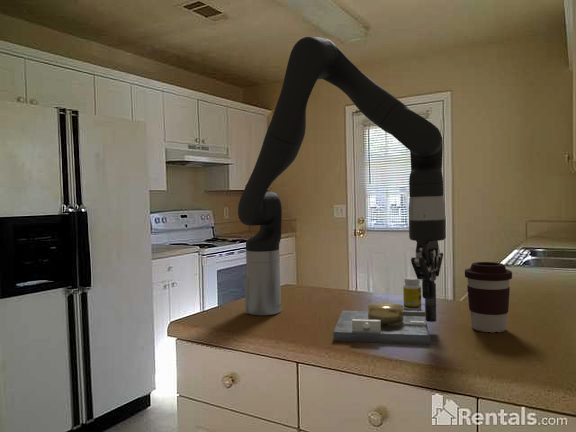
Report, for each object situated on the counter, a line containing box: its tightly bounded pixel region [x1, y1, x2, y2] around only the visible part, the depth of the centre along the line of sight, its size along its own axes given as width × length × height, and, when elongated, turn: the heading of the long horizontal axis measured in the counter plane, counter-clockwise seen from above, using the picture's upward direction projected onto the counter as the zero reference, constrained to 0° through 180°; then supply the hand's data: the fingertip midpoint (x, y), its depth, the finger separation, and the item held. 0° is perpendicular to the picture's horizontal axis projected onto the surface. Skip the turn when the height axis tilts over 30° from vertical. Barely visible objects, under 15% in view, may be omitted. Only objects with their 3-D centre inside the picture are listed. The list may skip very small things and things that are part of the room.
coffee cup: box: [464, 261, 513, 334], centre depth 105 cm, size 10×10×15 cm
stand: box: [333, 310, 431, 346], centre depth 106 cm, size 20×19×4 cm
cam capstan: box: [367, 283, 437, 324], centre depth 105 cm, size 15×8×8 cm, turn 78°
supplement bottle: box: [402, 276, 422, 311], centre depth 126 cm, size 5×5×8 cm
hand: (428, 298), depth 99 cm, fingers closed
